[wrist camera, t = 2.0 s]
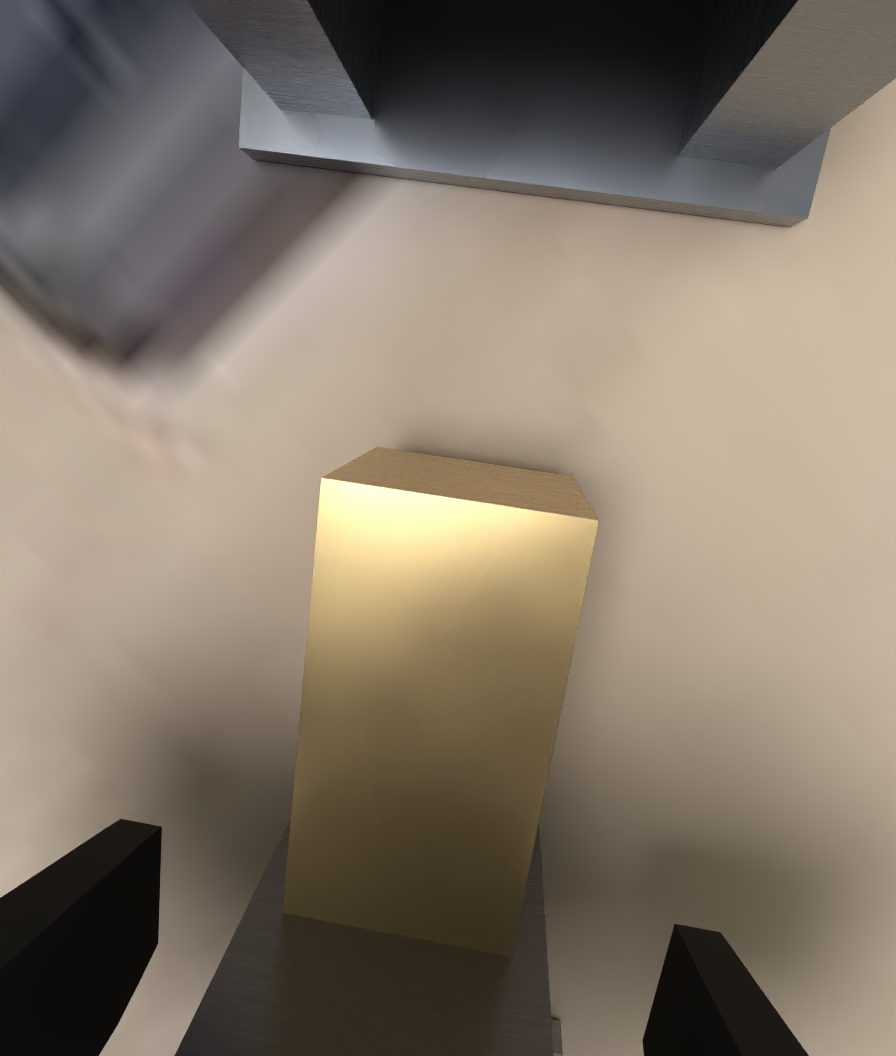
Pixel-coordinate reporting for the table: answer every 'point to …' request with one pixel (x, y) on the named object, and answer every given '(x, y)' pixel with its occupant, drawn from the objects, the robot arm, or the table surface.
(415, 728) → the two-tone block
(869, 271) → the table surface
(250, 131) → the grey square bracket
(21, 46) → the table surface
